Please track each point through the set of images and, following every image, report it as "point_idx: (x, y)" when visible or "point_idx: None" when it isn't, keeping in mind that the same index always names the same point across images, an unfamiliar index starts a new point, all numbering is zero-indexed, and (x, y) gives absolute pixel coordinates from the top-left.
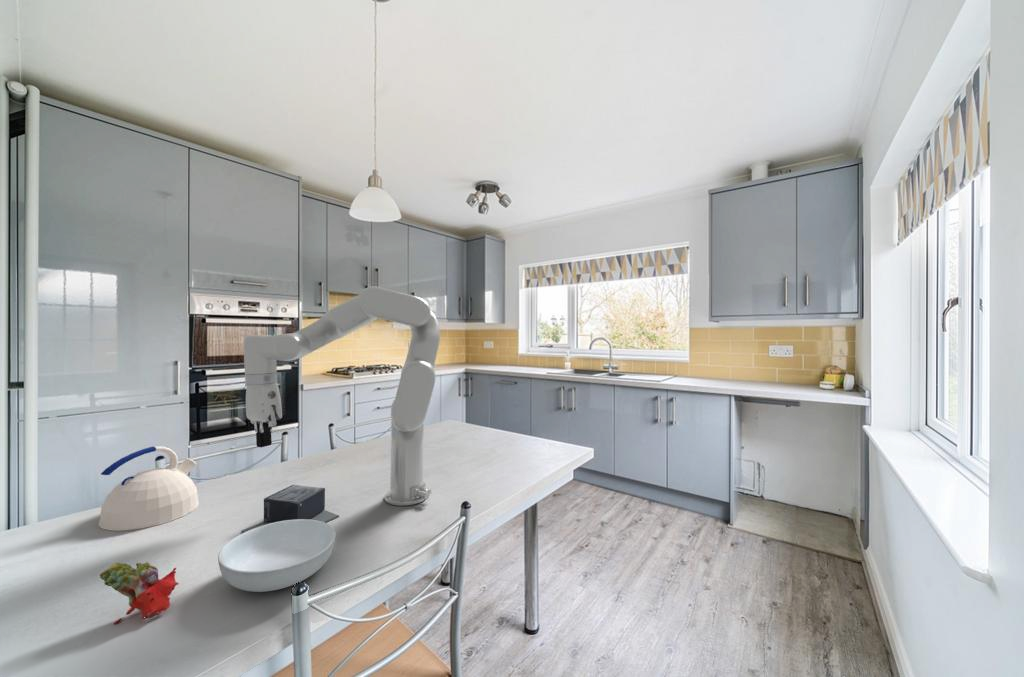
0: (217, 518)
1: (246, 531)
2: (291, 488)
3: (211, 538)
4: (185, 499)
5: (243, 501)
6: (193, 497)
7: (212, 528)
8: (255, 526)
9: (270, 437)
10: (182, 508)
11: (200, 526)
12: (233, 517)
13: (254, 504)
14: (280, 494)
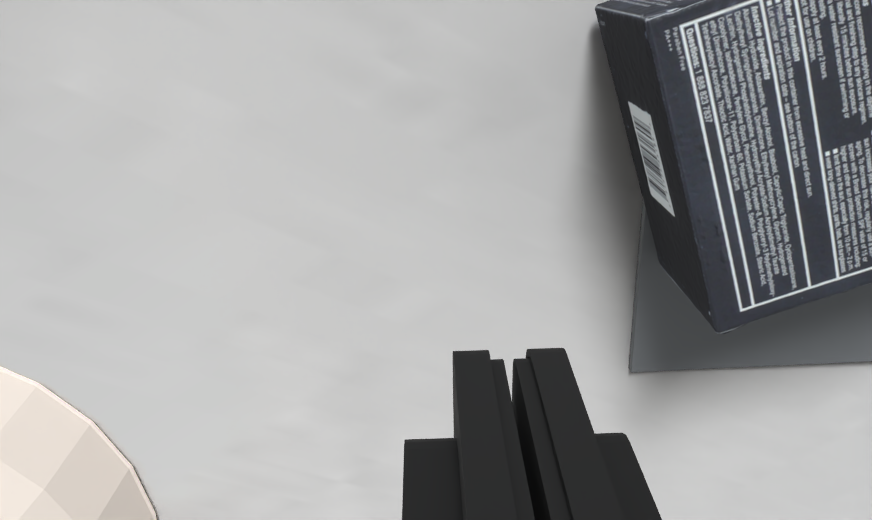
0: (324, 369)
1: (669, 363)
2: (730, 92)
3: None
4: (72, 514)
5: (155, 159)
6: (18, 449)
7: (443, 430)
8: (656, 309)
9: (589, 441)
10: (112, 499)
11: (361, 455)
12: (390, 313)
13: (282, 140)
14: (765, 223)
